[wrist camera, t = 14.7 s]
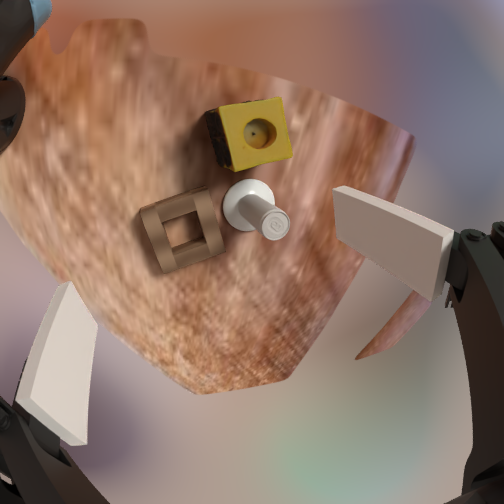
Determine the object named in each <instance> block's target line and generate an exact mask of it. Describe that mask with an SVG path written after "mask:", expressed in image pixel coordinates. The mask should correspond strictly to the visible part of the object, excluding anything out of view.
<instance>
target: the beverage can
mask: <svg viewBox="0 0 504 504" xmlns="http://www.w3.org/2000/svg"><path fill="white" fill-rule="evenodd" d="M238 210H239V213H240V215H241V216H242V217H243V218H244V219H246V220H247V221H248V222H249V223H250V224H251V225H252V226H253V227H254V228H255V229H256V230H257V231H258V232H259V233H261V234H262V235H263V236H264V237H266V238H267V239H270V240H278V239H281V238H282V237H284V236H285V235H286V234H287V232H288V230H289V228H290V220H289V217H288V216H287V215H286V213H285V212H284V211H282V210H281V209H279V208H277V207H276V206H274V205H273V204H271V203H269V202H268V201H266V200H264V199H263V198H261V197H259V196H258V195H255V194H248V195H246V196H244V197H243V198H242V199H241V200H240V202H239V205H238Z"/></svg>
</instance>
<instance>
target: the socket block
mask: <svg viewBox="0 0 504 504" xmlns="http://www.w3.org/2000/svg"><path fill="white" fill-rule="evenodd" d="M193 211H196V213H197V216H198V220H199V223H200V226H201V229H202V233H203V236H204V237H201V238H198V239H195V240H193V241H190V242H187V243H184V244H181V245H179V246H176V247H173V248H172V247H171V245H170V242H169V239H168V237H167V234H166V231H165V228H164V226H163V223H162V222H164V221H167V220H170V219H173V218H175V217H178V216H181V215H184V214H187V213H190V212H193ZM140 215H141V218H142V221H143V223H144V226H145V229H146V231H147V234H148V236H149V239H150V241H151V244H152V247H153V249H154V251H155V254H156V256H157V259H158V261H159V264H160V266H161V268H162V271H163V273H164V274H166V273H169V272H171V271H174V270H177V269H180V268H182V267H185V266H188V265H191V264H193V263H196V262H199V261H202V260H205V259H207V258H210V257H213V256H216V255H219V254H221V253H224V252H226V250H225V247H224V243H223V240H222V236H221V233H220V229H219V226H218V222H217V218H216V215H215V211H214V208H213V204H212V201H211V197H210V193H209V190H208V188H207V187H206V186H202V187H199V188H196V189H193V190H190V191H187V192H184V193H181V194H178V195H175V196H172V197H170V198H167V199H164V200H161V201H158V202H156V203H153V204H150V205H147V206H145V207H142V208H141V210H140Z"/></svg>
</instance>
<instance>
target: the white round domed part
mask: <svg viewBox="0 0 504 504" xmlns="http://www.w3.org/2000/svg"><path fill="white" fill-rule="evenodd" d="M248 194H255V195H258V196H259V197H261V198H263V199H264V200H266V201H268V202H269V203H271V204H273V205H275V201H274V196H273V193H272V191H271V189H270V188H269V187H268V186H267V185H266V184H265V183H263V182H261V181H259V180H256V179H244V180H241V181H238V182H237V183H235V184H234V185H232V186H231V187H230V189H229V190H228V191H227V193H226V195H225V197H224V200H223V213H224V216H225V218H226V219H227V221H228V222H229V223H230V224H231V225H232V226H233V227H234V228H236V229H238V230H242V231H253V230H256V229H255V228H254V227H253V226H252V225H251V224H250V223H249V222H248V221H247V220H246V219H244V218H243V217H242V216H241V215H240V213H239V210H238V205H239V202H240V200H241V199H242V198H243V197H244V196H246V195H248Z"/></svg>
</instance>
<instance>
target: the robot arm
mask: <svg viewBox="0 0 504 504" xmlns="http://www.w3.org/2000/svg"><path fill="white" fill-rule="evenodd" d="M51 12H52V4H51V1H50V0H0V152H1V151H2V150H4V149H5V148H6V147H7V146H8V145H9V144H10V143H11V142H12V140H13V139H14V137H15V136H16V134H17V132H18V130H19V128H20V126H21V123H22V120H23V116H24V112H25V93H24V89H23V87H22V85H21V83H20V82H19V81H18V80H17V79H15V78H13V77H10V76H5V75H3V73H4V72H5V71H6V69H7V68H8V66H9V65H10V64H11V62H12V61H13V60H14V58H15V57H16V56H17V54H18V53H19V52H20V51H21V49H22V48H23V47H24V46H25V45H26V43H27V42H28V41H29V40H30V39H32V38H33V37H34V36H35V34H36V33H37V31H38V30H39V29H40V27H41V26H42V25H43V24H44V23H45V22H46V21H47V20H48V18H49V17H50V14H51ZM332 192H333V202H334V212H335V224H336V238H337V239H339V240H340V241H342V242H343V243H345V244H347V245H348V246H350V247H351V248H353V249H354V250H356V251H357V252H359V253H360V254H362V255H364V256H365V257H367V258H368V259H370V260H371V261H373V262H374V263H376V264H377V265H379V266H380V267H382V268H383V269H385V270H386V271H387V272H389V273H390V274H392V275H393V276H395V277H396V278H398V279H399V280H401V281H402V282H403V283H405V284H406V285H408V286H409V287H411V288H412V289H413V290H415V291H416V292H417V293H419V294H420V295H422V296H423V297H424V298H426V299H427V300H429V301H430V302H432V301H433V300H435V299H436V298H437V297H438V296H440V295H441V294H442V291H443V287H444V283H445V281H447V282H448V283H450V287H449V291H448V295H447V299H446V302H445V308H447V307H448V304H449V301H452V304H451V308H452V307H453V308H454V311H455V315H456V319H457V323H458V327H459V331H460V335H461V340H462V345H463V349H464V355H465V360H466V366H467V372H468V379H469V387H470V396H471V406H472V422H473V448H472V451H471V454H470V456H469V458H468V459H467V462H466V465H465V469H464V477H463V486H462V495H461V496H459V497H457V498H455V499H453V500H451V501H449V502H447V503H444V504H504V222H502V221H501V222H495V223H493V225H492V230H491V234H490V235H486V234H485V233H483V232H481V231H478V230H475V229H465V230H463V231H461V233H460V234H459V233H457V232H455V231H453V230H452V229H450V228H448V227H445V226H443V225H441V224H439V223H437V222H434V221H432V220H430V219H428V218H426V217H424V216H421V215H419V214H417V213H414V212H412V211H410V210H407V209H405V208H402V207H400V206H397V205H395V204H392V203H390V202H387V201H385V200H382V199H380V198H377V197H374V196H372V195H369V194H366V193H364V192H361V191H358V190H355V189H352V188H350V187H347V186H341V187H338V188H334V189H332ZM97 329H98V325H97V323H96V322H95V320H94V319H93V317H92V315H91V314H90V312H89V311H88V309H87V307H86V306H85V304H84V303H83V301H82V299H81V298H80V296H79V294H78V292H77V291H76V289H75V287H74V285H73V283H72V282H71V281H68V282H66V283H63V284H61V285H59V286H58V288H57V290H56V292H55V294H54V296H53V298H52V300H51V302H50V304H49V307H48V309H47V311H46V314H45V316H44V318H43V320H42V322H41V325H40V327H39V330H38V332H37V335H36V338H35V340H34V343H33V345H32V348H31V351H30V354H29V356H28V358H27V359H26V361H25V364H24V367H23V370H22V372H23V373H21V376H20V381H19V383H18V386H17V390H16V393H15V397H14V401H13V405H12V407H11V406H10V405H9V404H8V403H7V402H6V401H5V400H4V399H3V398H2V397H1V396H0V473H2V474H3V475H5V476H7V477H8V478H10V479H11V481H12V485H11V484H9V483H7V482H5V481H4V480H2V479H1V477H0V504H110V503H109V502H108V501H107V500H106V499H105V498H104V497H103V496H102V495H101V493H100V492H99V491H98V490H97V489H96V488H95V487H94V486H93V484H92V483H91V482H90V481H89V480H88V478H87V477H86V476H85V475H84V474H83V472H82V471H81V470H80V469H79V467H78V466H77V465H76V463H75V462H74V461H73V459H72V458H71V457H70V455H69V454H68V453H67V451H66V450H65V449H64V448H62V447H61V446H60V438H61V439H62V440H64V441H65V442H67V443H68V444H69V445H71V446H75V445H85V444H87V419H88V402H89V401H88V400H89V389H90V379H91V370H92V362H93V354H94V348H95V342H96V335H97Z"/></svg>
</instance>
